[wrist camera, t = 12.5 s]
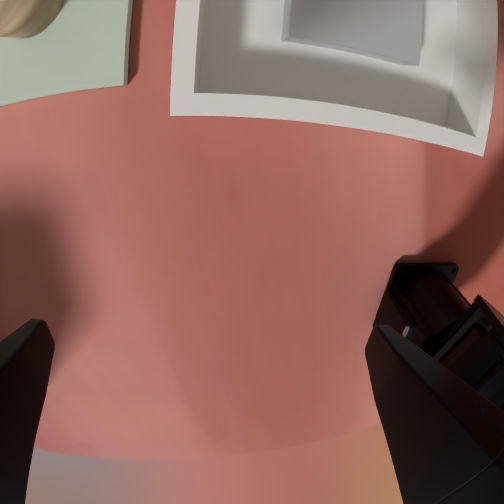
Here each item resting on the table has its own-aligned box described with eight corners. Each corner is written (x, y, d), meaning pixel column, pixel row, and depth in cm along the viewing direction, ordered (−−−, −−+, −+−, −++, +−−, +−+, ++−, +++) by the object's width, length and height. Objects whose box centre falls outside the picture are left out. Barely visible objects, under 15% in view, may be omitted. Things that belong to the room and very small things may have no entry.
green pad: (148, -91, 9) (145, -96, 8) (127, 84, 15) (123, 85, 14) (-13, -40, 8) (-19, -42, 7) (-28, 113, 14) (-35, 116, 13)
